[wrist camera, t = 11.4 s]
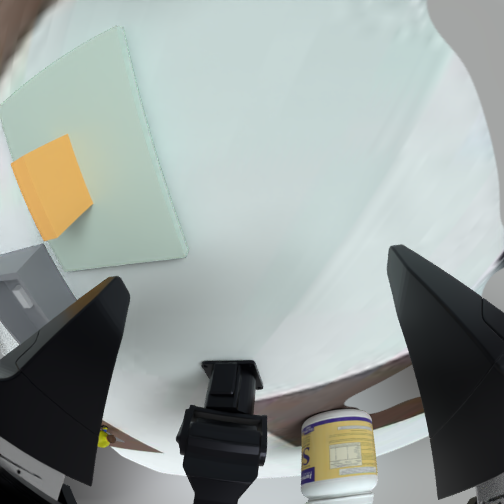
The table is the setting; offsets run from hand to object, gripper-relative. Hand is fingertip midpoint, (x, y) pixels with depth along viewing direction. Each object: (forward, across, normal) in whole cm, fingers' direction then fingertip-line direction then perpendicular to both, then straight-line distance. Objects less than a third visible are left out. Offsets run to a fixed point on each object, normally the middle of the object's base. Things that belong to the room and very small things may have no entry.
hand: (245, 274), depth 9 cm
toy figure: (+12, +54, +59) cm, 81 cm away
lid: (+12, +14, -3) cm, 19 cm away
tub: (+12, +31, +12) cm, 35 cm away
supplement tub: (+12, -5, +44) cm, 46 cm away
